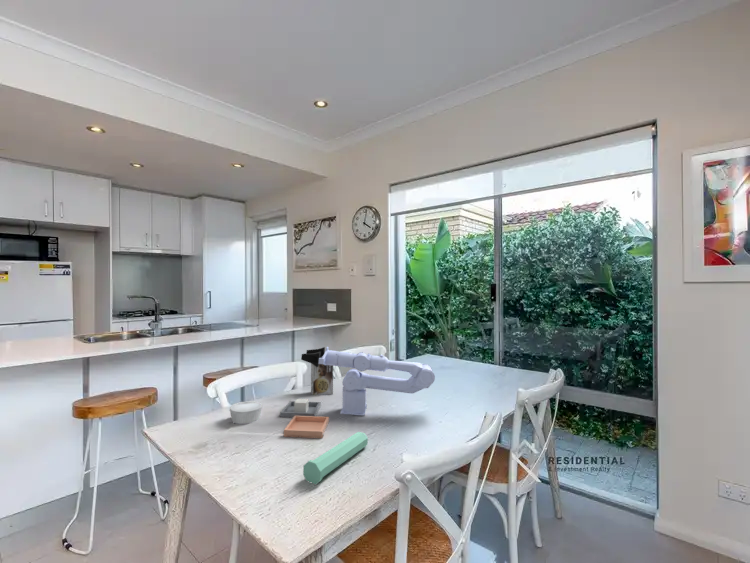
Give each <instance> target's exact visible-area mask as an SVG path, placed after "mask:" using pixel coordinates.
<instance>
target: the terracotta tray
mask: <svg viewBox="0 0 750 563" xmlns="http://www.w3.org/2000/svg"><path fill="white" fill-rule="evenodd" d="M329 423H330V416H318V415H316V416H294V417H291V420H290V421H289V423H288V424H287V425H286V426H285V428H284V429H283V437H285V438H303V439H304V438H305V439H306V438H307V439H323V437H324V433H325V431H326V429H327V427H328V425H329Z"/></svg>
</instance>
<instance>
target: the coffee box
mask: <svg viewBox="0 0 750 563" xmlns="http://www.w3.org/2000/svg"><path fill="white" fill-rule="evenodd" d="M333 381H334V366H331V365H323V364H319V366H318V367H316V366H315V365H313V364H311V363H310V393H311V395H312V396H317V395H318V396H329V395H330V394H331V395H334V389H333V388H334V382H333Z"/></svg>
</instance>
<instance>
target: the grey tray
mask: <svg viewBox="0 0 750 563" xmlns="http://www.w3.org/2000/svg"><path fill="white" fill-rule="evenodd" d="M295 401H296V400H289V402H287V404H286V405H285V406H284V407H283V408H282V409H281V411H280V413H279V415H280V416H279V417H280V418H293V417H294V416H317V414H318V412H319V410H320V409H321V406H322V402H321V401H309V408H308V411H307V412H306V413H303V412H294V402H295Z"/></svg>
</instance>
